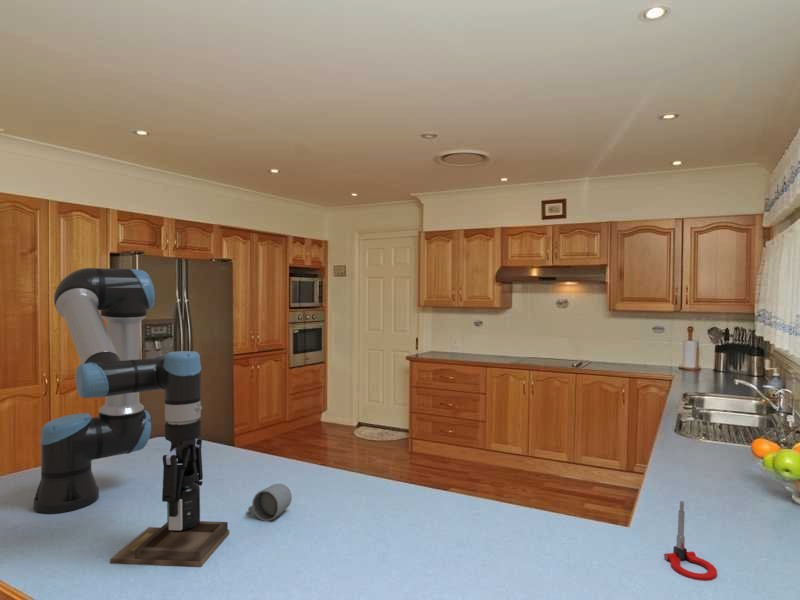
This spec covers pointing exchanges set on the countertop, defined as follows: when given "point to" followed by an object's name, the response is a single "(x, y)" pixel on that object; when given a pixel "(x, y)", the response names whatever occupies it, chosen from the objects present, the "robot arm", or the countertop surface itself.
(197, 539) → the framed wooden board
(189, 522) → the supplement bottle
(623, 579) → the countertop surface
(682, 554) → the tow hook
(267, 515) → the ceramic mug
